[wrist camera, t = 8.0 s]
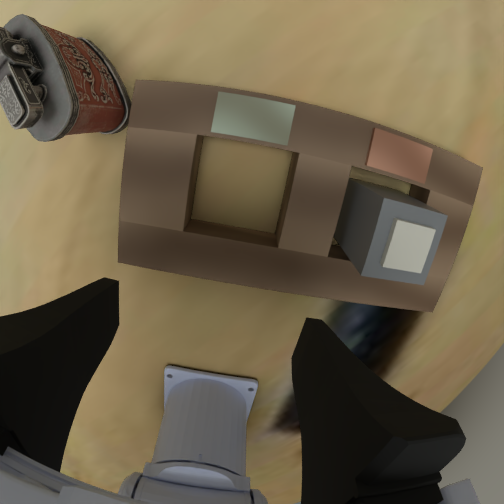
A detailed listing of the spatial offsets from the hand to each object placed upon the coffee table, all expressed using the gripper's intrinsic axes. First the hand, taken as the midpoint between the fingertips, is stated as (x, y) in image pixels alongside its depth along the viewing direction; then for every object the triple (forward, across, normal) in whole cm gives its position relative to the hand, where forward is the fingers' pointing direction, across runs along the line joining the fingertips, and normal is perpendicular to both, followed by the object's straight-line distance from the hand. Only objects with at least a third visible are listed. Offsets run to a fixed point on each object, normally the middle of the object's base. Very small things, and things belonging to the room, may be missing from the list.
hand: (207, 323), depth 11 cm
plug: (+10, -9, -4) cm, 14 cm away
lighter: (+10, +11, -9) cm, 17 cm away
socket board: (+10, -4, -4) cm, 11 cm away
